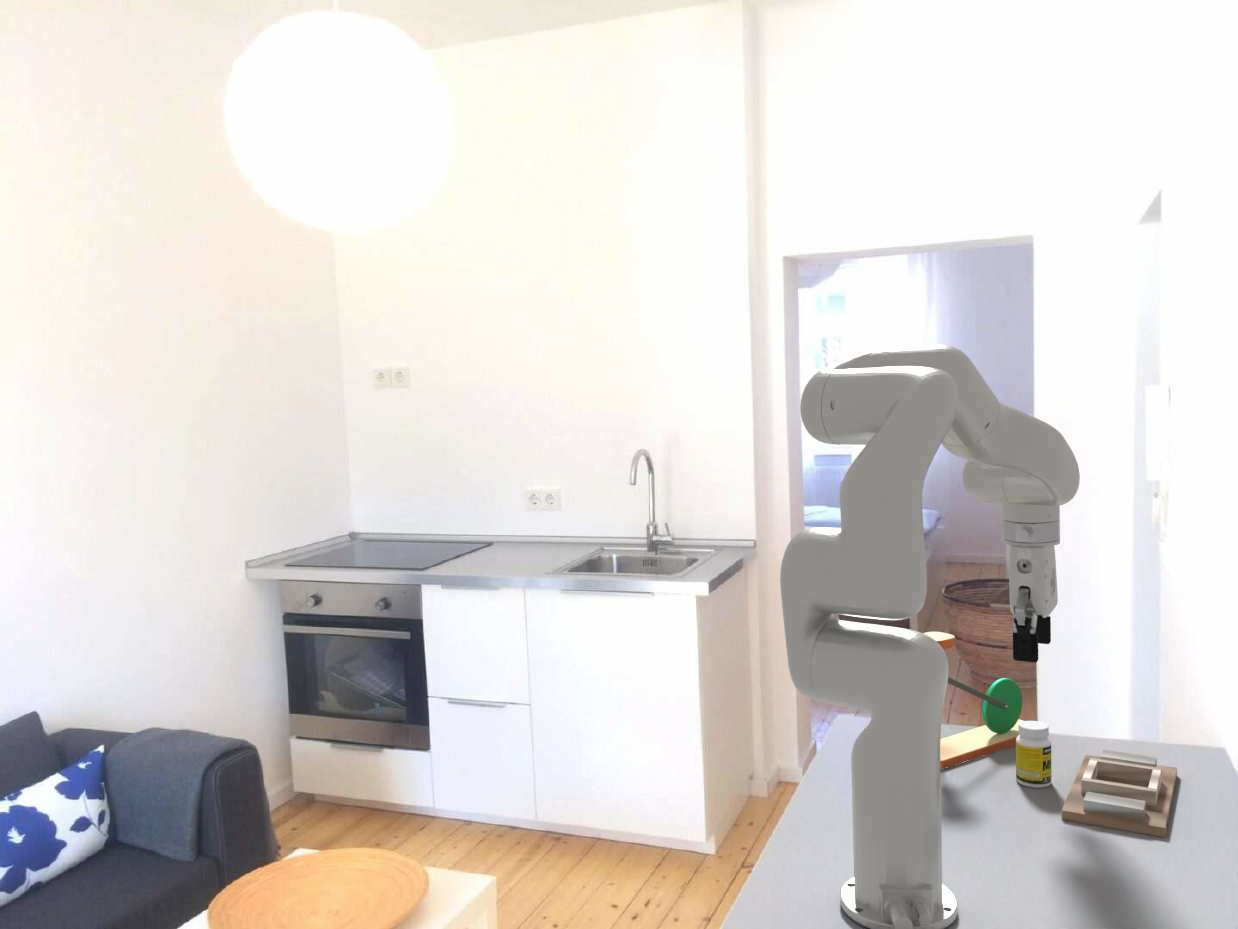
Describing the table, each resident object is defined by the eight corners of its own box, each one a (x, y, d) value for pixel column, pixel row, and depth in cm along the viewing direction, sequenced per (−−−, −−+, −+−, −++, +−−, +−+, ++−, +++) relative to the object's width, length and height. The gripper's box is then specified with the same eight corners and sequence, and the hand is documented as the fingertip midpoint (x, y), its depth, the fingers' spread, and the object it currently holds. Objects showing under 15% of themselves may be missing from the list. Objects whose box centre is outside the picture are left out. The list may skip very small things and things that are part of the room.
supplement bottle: (1048, 791, 145) (1047, 732, 144) (1012, 785, 147) (1012, 727, 146) (1054, 779, 149) (1053, 722, 148) (1019, 773, 151) (1019, 717, 150)
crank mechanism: (937, 771, 153) (935, 644, 152) (904, 758, 159) (901, 635, 157) (1045, 735, 166) (1045, 617, 165) (1011, 724, 172) (1010, 610, 170)
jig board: (1164, 837, 129) (1164, 812, 129) (1061, 819, 136) (1061, 795, 135) (1177, 776, 148) (1177, 754, 148) (1085, 762, 154) (1085, 741, 154)
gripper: (1048, 544, 135) (1050, 671, 137) (1069, 523, 150) (1070, 638, 152) (989, 541, 139) (991, 665, 141) (1015, 521, 154) (1016, 634, 156)
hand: (1032, 651), depth 146 cm, fingers open, 9 cm apart
